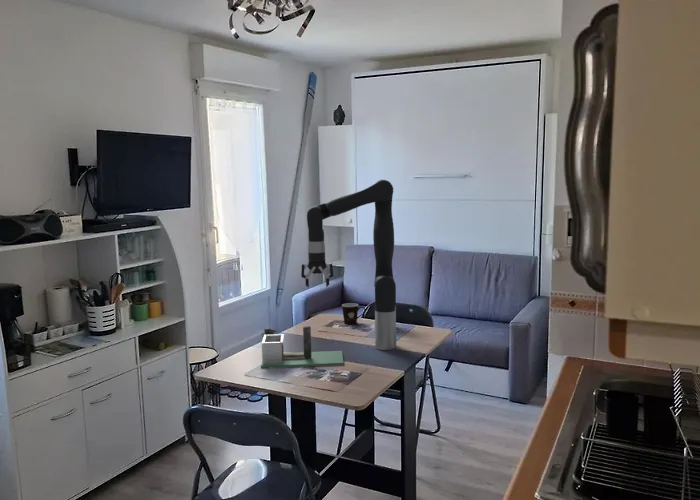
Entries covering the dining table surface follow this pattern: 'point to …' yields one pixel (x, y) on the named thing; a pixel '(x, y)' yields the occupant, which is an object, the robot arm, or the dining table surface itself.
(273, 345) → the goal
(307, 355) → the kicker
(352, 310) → the coffee mug
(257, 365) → the dining table surface
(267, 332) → the lighter
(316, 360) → the board
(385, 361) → the dining table surface
